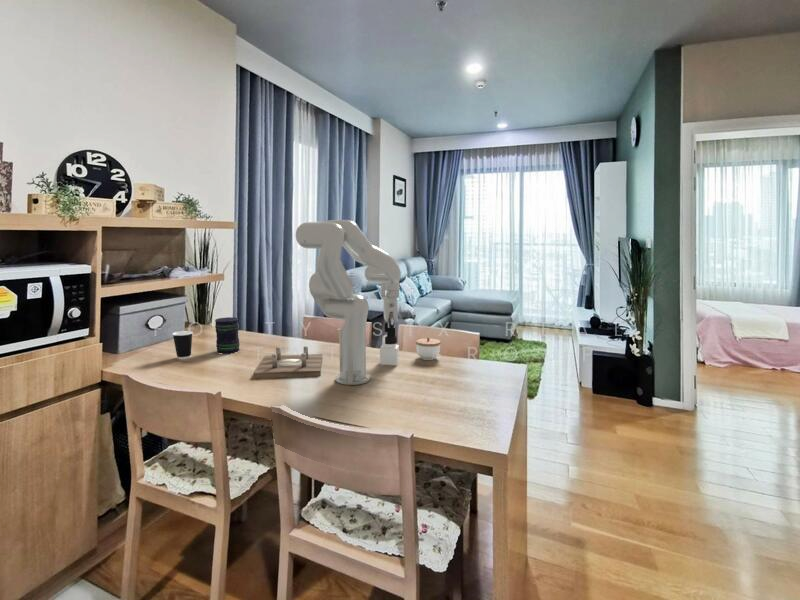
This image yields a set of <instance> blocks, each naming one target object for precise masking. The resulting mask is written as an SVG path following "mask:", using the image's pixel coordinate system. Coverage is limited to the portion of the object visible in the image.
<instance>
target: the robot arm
mask: <svg viewBox="0 0 800 600" xmlns="http://www.w3.org/2000/svg"><path fill="white" fill-rule="evenodd" d="M295 239H296V243H297V244H298V245H299V246H300V247H302V248H305V249H310V250H311V249H315V250H316V249H317V250H319V253H318V257H317V259H316V263H315V268H316V272H314V273H313V274H312V275H311V276H310V278H309V282H308V288H309V292H310V295H311V296H312V298H313V299H314V301H315V303H316V304H317V305H318V308H319V309H320V310H321V312H322V313H323V314H324V316H326V317H327V318H328V319H329V318H330V319H335V320H336V319H337V320H343V321H344V322H343V324H342V326H341V327H340V330H339V334H338V335H339V337H338V339H339V373H338V374H337V375H336V376H335V382H337V383H338V384H341V385H346V386H355V385H356V386H357V385H363V384H366V383H368V382H369V381H370V379H371V375H370V374H369V373H367V368H366V367H367V319H368V315H369V301H368V300H367V298H365V297H364V296H362V295H360V294H357V293H356V294H355V293H354V284H353V282H352V279H351V277H350V276H349V274H348V272H347V270H346V268H345V266H344V265H343V262H342V260H341V254H342V253H341V252H342V248H344V249H345V251H346V252H347V253H348V254H349V255H350V257H351V258H352V259H353V260H354V261H355V262H357V263H359V264H361V265H365V266H366V268H365V269H364V277H365V279H366V280H367V281H368V282H369V283H373V284H380V298H381V299H383V319H384V333H386V334H387V337H388V338H390V337H395V335H396V323H398V322H399V319H398V317H399V316H398V314H399V313H398V312H399V311H398V310H399V309H398V299H399V298H400V280H401V277H402V272H401V269H400V266H399V264H398V263H397V262H396V260H395V259H394V257H392V255H390V254H389V253H388V252H385V251H384V250H382V249H381V248H379V247H378V246H375V245H373V244H372V243H371V242H370V240H369V238H367V237H366V235H365V233H364V232H363V231H362V230H361V229H360V227H359V225H358V224H357V223H356V222H354V221H352V220H350V219H329V220H322V221H321V220H320V221H309V222H308V221H307V222H303V223H301V224H300V225H299V226H298V227H297V228H296V231H295Z"/></svg>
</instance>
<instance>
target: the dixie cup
mask: <svg viewBox="0 0 800 600" xmlns="http://www.w3.org/2000/svg"><path fill="white" fill-rule="evenodd" d="M193 334H194V331H191V330H181V331H180V330H179V331H175V332H173V333H172V337H173V338H172V339H173V342H174V347H175V353H176V357H177V359H178V360H188V359H190V358H191V355H192V347H193V346H192V345H193ZM189 357H190V358H189ZM187 358H188V359H187Z"/></svg>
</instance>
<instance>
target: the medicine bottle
mask: <svg viewBox="0 0 800 600" xmlns="http://www.w3.org/2000/svg"><path fill="white" fill-rule="evenodd" d="M381 337H382V342H381V346H380V348H379V365H380V366H394V367H396V366H397V365H398V364H399V360H400V359H399V358H400V345H399V344H398V336H397V335H396V334H395V337H390V338H388V337H387V333H386V334H383V335H382V336H381Z"/></svg>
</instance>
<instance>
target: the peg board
mask: <svg viewBox="0 0 800 600" xmlns="http://www.w3.org/2000/svg"><path fill="white" fill-rule="evenodd" d="M281 348H282V347H281V346H277V347H276V348H275V354H274V353H273V354H271V355H264V357H263V358H262V360H261V361H260V363H259V364H258V366H257V368H256V369H255V371H254V373H253V378H254V379H271V378H272V379H273V378H277V379H278V378H296V377H299V378H301V377H321V374H322V366H323V365H322V364H323V353H313V354H312V353H310V354H309V346H307V345H306V346H303V353H301V354H282V352H281V351H282V349H281Z"/></svg>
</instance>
